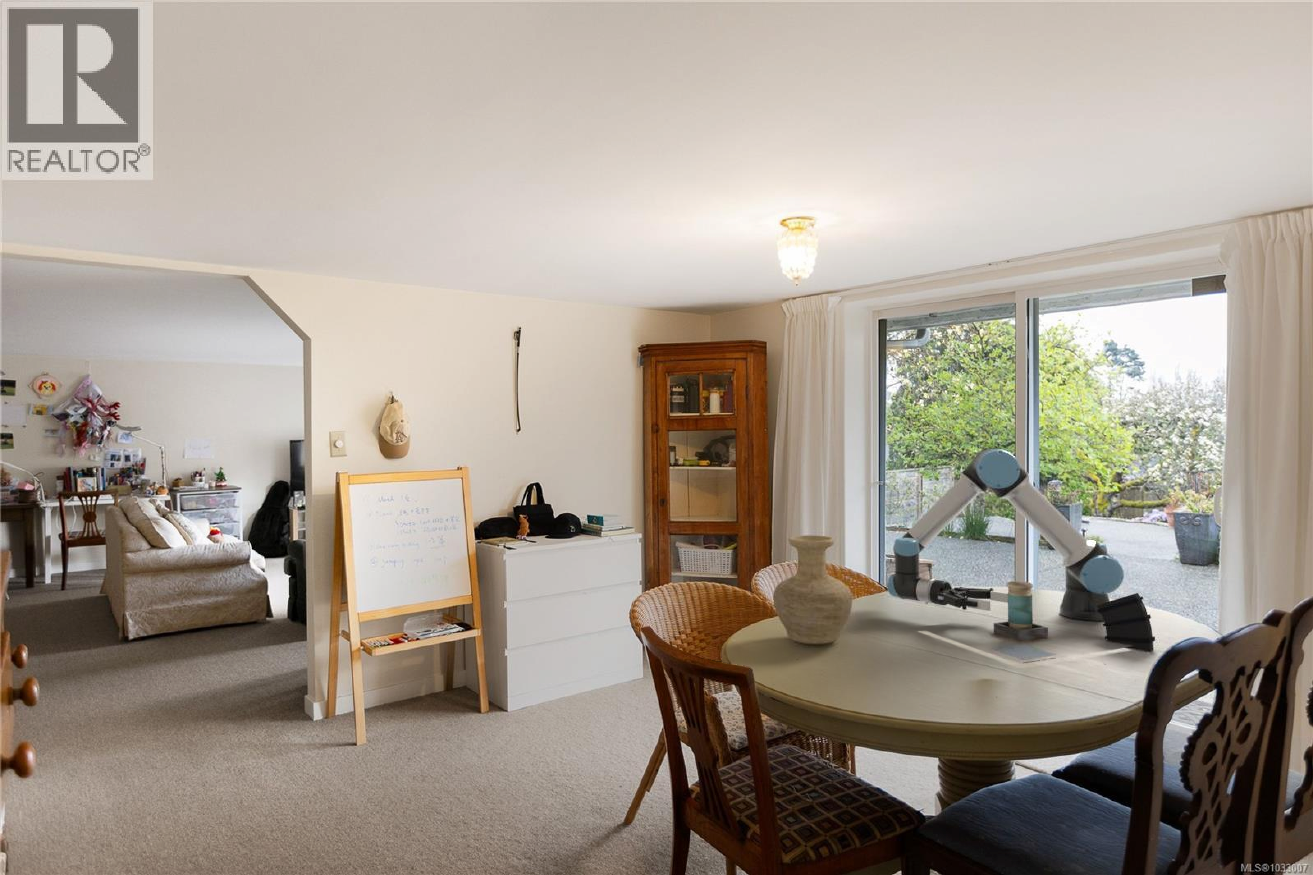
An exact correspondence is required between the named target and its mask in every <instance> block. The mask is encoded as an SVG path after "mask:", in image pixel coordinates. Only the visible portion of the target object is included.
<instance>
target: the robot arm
mask: <svg viewBox="0 0 1313 875" xmlns="http://www.w3.org/2000/svg"><path fill="white" fill-rule="evenodd" d="M988 490H990V491H991V492H992V493H993V494H994V495H995V496H996V497H997V499H999V500H1002V499H1003V500H1007V501H1008V503H1010V504H1011V505H1012V506H1013V507H1014V509H1016V510H1017V512H1018V513H1019V514H1020V515H1021V516H1023V518H1024V519H1025V521H1027V522H1028V523H1029V524H1030V525H1031V526H1032V527H1033V528H1034V529H1035V530H1036V531H1037V532H1038V533H1039V534H1040V535H1041V536H1042V537H1043V538H1044V539H1045V540H1046V542H1048V543H1049V545H1051V547H1052V548H1053V549H1054V550H1055V551H1056V552H1058V554H1059V555H1060V556H1061V557H1062V558H1063V560H1062V565H1063V566H1064V567H1065V568H1064V569H1065V573H1064V574H1065V592H1064V594H1063V598H1062V599H1061V600H1062V601H1061V604H1060V606H1059V614H1060V615H1062V616H1063V617H1066V618H1070V619H1074V620H1081V621H1092V622H1093V621H1094V622H1097V621H1098V622H1102V621H1103V622H1104V620H1103V617H1102V615H1101V613H1098V612H1097V610H1098V607H1097V605H1099V604H1102V603H1106V602H1109V601H1111V600H1110V597H1109V594H1110V593H1113V592H1115V591H1116V590H1117V589H1119V588H1120V587H1121V586H1122V584H1123V580H1124V576H1125V575H1124V574H1125V573H1124V569H1123V567H1122V565H1121V563H1120V562H1119V560H1117V558H1116V559H1115V558H1114V557H1112V556H1110V554H1109V553H1108V550H1107V547H1106V545H1105V544H1099V543H1098V542H1097V541H1096V540H1091V539H1086V538H1085V536H1084V535H1083V534H1082V533H1081V532H1080V531H1078V529H1076V527H1075V526H1074V525H1073V524H1072V523H1071V522H1070V521H1069V520H1068V519H1067V518H1066V517H1065V516H1064V515H1063V514H1062V513H1061V512H1060V511H1059V510H1058V509H1057V508H1056V507H1055V506H1054V504H1052V503H1051V502H1050V501H1049V500H1048V498H1046V497H1045V495H1043V494H1042V492H1040V491H1039V490H1038V489H1037V488H1036V487H1035V486H1034V485H1033V483H1032V482H1031V481H1030V473H1029V472H1028V471H1027V470H1026V469H1025V467H1023V466H1022V465H1021V464H1020V463H1019V460H1018V458H1016V456H1015V455H1014V454H1012V453H1011V452H1009V451H1007V450H1006V449H1001V448H994V447H993V448H992V447H991V448H986V449H983V450H981V451H980V452H978V453H977V454H976V455H975V457H973V459H972V460H971V462H970V463H969V464H968V465H967V467H965V468H964V470H962V471H961V473H960V478H959V479H958V480H957V481H956V482H955V483H954V485H952V486H951V487H950V488H949V489H948V490H947V491H946V493H944V495H942V496H941V498H940V499H939V500H938V501H937V502H935V503H934V504H933V505H932V507H931V508H929V509H928V510H927V512H926V513H925V514H924V515H922V516H921V518H920V519H919V520H918V521H917V522H916V523H914V525H913V526H912V527H911V528H910V529H909V530H907V532H906V533H905V534H904V535H903V536H901V537H900V538H899V537H898V538H896V539H895V540H894V545H893V550H892V551H893V553H894V573H892V574H891V575H889V577H888V580H887V581H888V582H887V583H886V587H887V591H888V593H889V595H890V596H892V597H895V598H899V599H902V600H909V601H915V602H922V603H924V604H925V605H929V604H933V605H939V606H948V605H950V606H952V607H955V608H958V609H961V608H962V609H961V610H964V611H965V610H967V608H970V609H976V610H982V611H986V612H987V611H991V601H995V602H1000V603H1007V604H1008V592H1002V591H997V590H996V591H995V590H994V588H992V587H990V588H977V587H976V588H974V587H963V586H960V587H957V586H956V587H952V586H951V583H950V582H949V581H947V580H941V579H934V578H928V577H920V553H922V551H923V550H924V549H925V548H926V547H927V546H928V545H929V544H930V542H932V541H933V540H934V539H935V538H936V537H937V536H938V535H939V534H940V533H941V532H942V531H943V530H944V528H946V527H947V526H948V525H949V524H950V523H951V522H952V521H953V520H954V519H955V518H957V516H958V515H959V514H960V513H961V512H962V511H963V510H964V509H965V508H966V507H967V506H968V505H969V504H970V503H971V502H972V501H973V500H974V499H975V498H976V497H977V496H979V495H980V494H985V493H986V492H987V491H988Z"/></svg>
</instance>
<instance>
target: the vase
mask: <svg viewBox="0 0 1313 875" xmlns="http://www.w3.org/2000/svg"><path fill="white" fill-rule="evenodd" d="M788 542H789V544H790V546H792V547H793V548H794V549H796V551H797V570H796V573H795V574H794V575H791V576H790V577H788V578H785V579H784V580H782V581H781V582H779V583H778V584H777V585H776V587H775V589H774V591H773V594H772V596H773V597H772V598H773V599H772V600H773V605H774V610H775V612H776V615H777V617H778V618H779V621H780V622H781V624H782V625H783V627H784V628H785V630H786V635H787V637H788V638H789V639H790V640H792V641H794V642H797V643H801V644H805V645H806V644H807V645H825V644H830V643H834V642H835V641H837V640H838V639H839V638H840V634H841V630H842V629H843V628H844V626H845V625H846V622H847V621H848V620H849V617H850V615H851V611H852V607H853V606H852V605H853V595H852V591H851V589H850V588H849V587H848V586H847V585H846V583H844V582H843V581H841V580H840V579H837V578H835V577H833V576H831V575H829V574H828V572H827V568H826V566H827V565H826V551H827V549H828V548H831V546H833V545H834V543H835V539H834V537H831V536H825V535H811V534H810V535H809V534H808V535H795V536H791V537H789V538H788Z"/></svg>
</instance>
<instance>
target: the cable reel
mask: <svg viewBox="0 0 1313 875" xmlns="http://www.w3.org/2000/svg"><path fill="white" fill-rule="evenodd" d="M1006 587H1008V588H1007V590H1008V592H1007V593H1008V603H1007V621H1008V622H1009V627H1011V628H1014V629H1018V630H1026V629H1032V623H1034V621H1033V618H1034V617H1033V615H1034V613H1033V594H1032V589H1033V587H1034V584H1033V583H1031V582H1028V581H1027V582H1026V581H1020V580H1019V581H1014V580H1013V581H1007V582H1006Z"/></svg>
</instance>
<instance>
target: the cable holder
mask: <svg viewBox="0 0 1313 875" xmlns="http://www.w3.org/2000/svg"><path fill="white" fill-rule="evenodd" d="M988 634H990V635H993V636H996V637H998V638H1002V639H1004V640H1005V639H1006V640H1009V641H1012V642H1014V643H1018V644H1026V643H1032V642H1040V641H1041V642H1042V641H1048V640H1053V639H1054V638H1053V637H1051V636H1049V627H1047V626H1045V625H1040V624H1038V623H1037V624H1036V623H1034V622H1033V623H1032V629H1026V630H1018V629H1014V628H1011V627H1009V622H1008V620H1007V621H1001V622H999V621H998V622H993V632H988Z"/></svg>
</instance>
